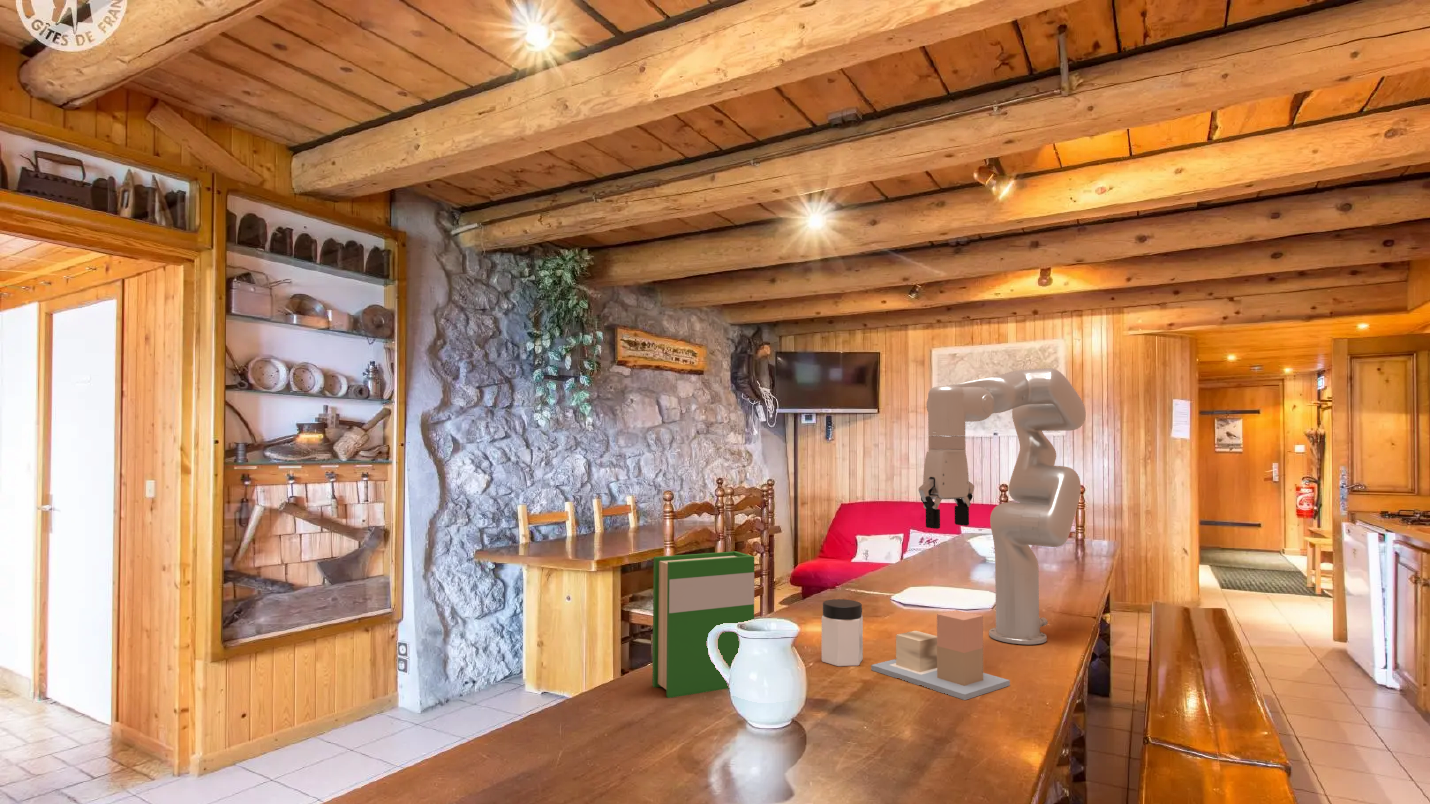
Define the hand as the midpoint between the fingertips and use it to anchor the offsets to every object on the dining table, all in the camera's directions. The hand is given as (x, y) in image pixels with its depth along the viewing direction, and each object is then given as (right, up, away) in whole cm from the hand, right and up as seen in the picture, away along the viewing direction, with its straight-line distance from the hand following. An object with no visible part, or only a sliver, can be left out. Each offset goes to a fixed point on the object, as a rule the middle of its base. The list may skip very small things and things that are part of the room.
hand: (947, 526), depth 162 cm
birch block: (-8, -27, -7) cm, 29 cm away
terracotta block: (-2, -21, -15) cm, 25 cm away
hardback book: (-51, -27, -17) cm, 60 cm away
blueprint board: (-5, -28, -11) cm, 30 cm away
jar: (-22, -28, 0) cm, 36 cm away
